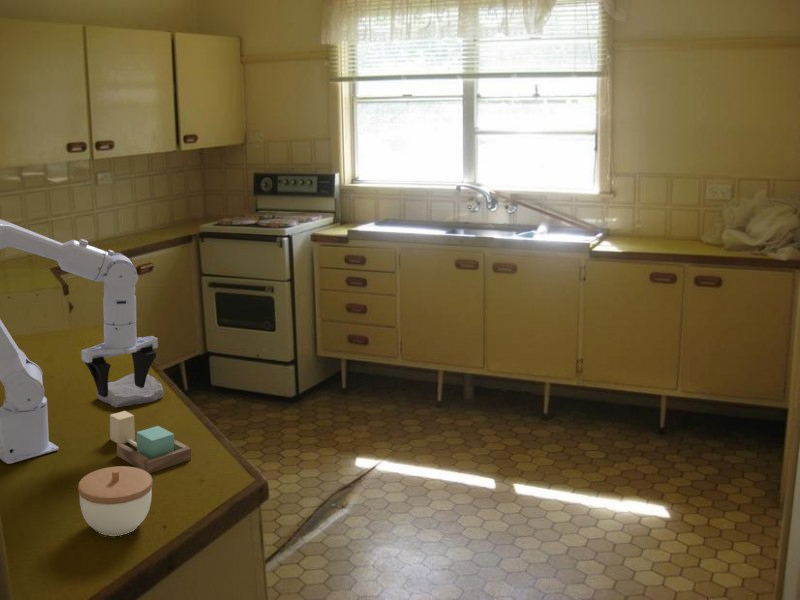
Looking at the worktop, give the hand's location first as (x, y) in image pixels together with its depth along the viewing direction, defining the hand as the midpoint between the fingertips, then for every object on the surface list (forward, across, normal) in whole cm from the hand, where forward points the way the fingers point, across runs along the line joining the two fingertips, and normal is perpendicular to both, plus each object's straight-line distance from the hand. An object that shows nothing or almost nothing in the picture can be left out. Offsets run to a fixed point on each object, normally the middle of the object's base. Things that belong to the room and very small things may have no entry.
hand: (121, 390), depth 162 cm
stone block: (+10, +13, +18) cm, 24 cm away
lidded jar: (+10, -18, -28) cm, 35 cm away
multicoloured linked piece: (+10, 0, -6) cm, 12 cm away
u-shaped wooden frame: (+10, 0, -10) cm, 14 cm away
